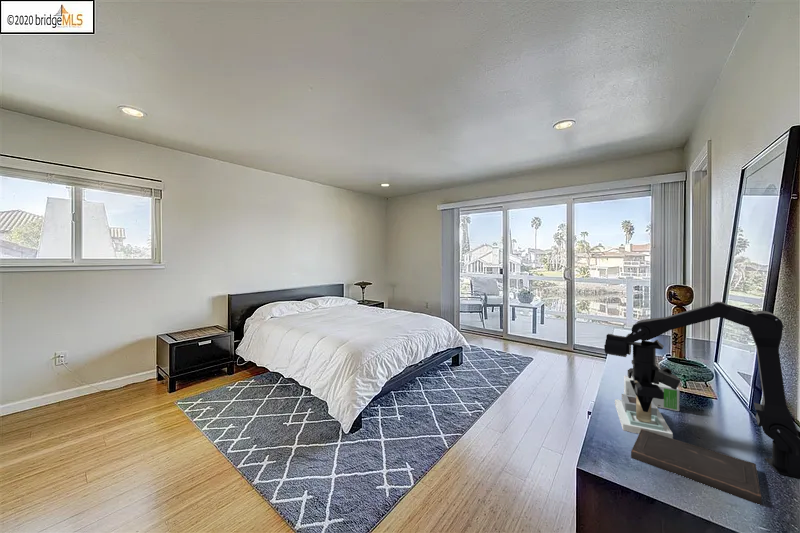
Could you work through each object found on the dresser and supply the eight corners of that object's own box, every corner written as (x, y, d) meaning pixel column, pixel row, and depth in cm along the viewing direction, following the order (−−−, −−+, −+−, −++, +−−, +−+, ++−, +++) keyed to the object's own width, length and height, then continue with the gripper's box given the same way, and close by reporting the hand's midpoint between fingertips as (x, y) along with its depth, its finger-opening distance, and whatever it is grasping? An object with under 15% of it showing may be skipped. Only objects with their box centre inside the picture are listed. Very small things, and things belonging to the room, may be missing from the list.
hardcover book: (641, 436, 95) (641, 428, 95) (755, 472, 78) (755, 463, 78) (630, 460, 83) (630, 451, 83) (761, 508, 67) (761, 497, 67)
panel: (672, 440, 91) (672, 424, 91) (623, 430, 97) (623, 414, 97) (656, 411, 109) (656, 397, 108) (614, 404, 114) (614, 391, 114)
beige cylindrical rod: (652, 423, 96) (652, 391, 96) (637, 420, 98) (637, 389, 97) (649, 418, 99) (649, 387, 99) (635, 415, 101) (635, 385, 101)
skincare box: (680, 411, 108) (625, 402, 116) (675, 404, 114) (623, 396, 122) (679, 388, 108) (624, 380, 116) (675, 381, 114) (623, 375, 122)
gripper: (687, 373, 86) (687, 429, 86) (668, 355, 102) (668, 402, 102) (637, 367, 91) (637, 420, 92) (627, 351, 108) (627, 395, 108)
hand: (644, 409), depth 98 cm, fingers closed on beige cylindrical rod, 4 cm apart
